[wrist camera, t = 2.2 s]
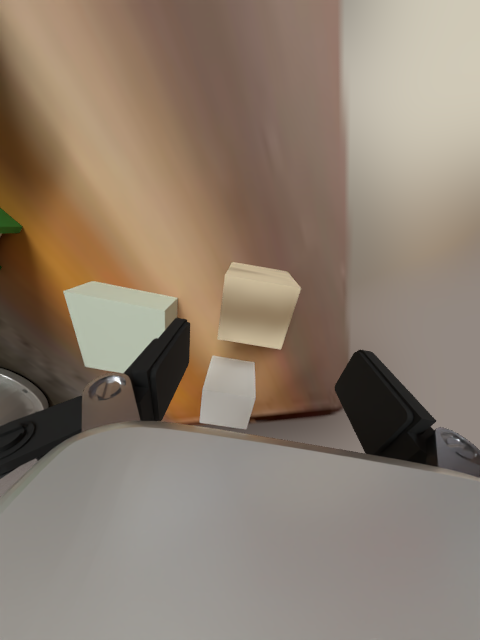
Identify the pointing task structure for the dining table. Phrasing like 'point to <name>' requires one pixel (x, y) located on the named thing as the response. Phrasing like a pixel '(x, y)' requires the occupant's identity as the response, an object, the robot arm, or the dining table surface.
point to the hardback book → (8, 224)
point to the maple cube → (257, 305)
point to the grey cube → (228, 393)
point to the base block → (117, 322)
